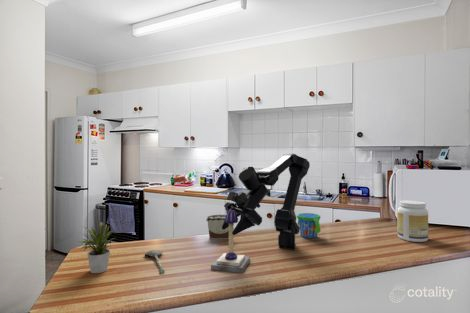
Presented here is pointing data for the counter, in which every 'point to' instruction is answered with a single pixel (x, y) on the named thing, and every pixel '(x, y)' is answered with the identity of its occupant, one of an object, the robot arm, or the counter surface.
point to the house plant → (97, 249)
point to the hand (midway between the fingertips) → (227, 231)
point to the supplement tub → (412, 221)
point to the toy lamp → (231, 219)
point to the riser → (230, 263)
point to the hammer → (155, 254)
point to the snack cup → (309, 224)
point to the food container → (217, 227)
